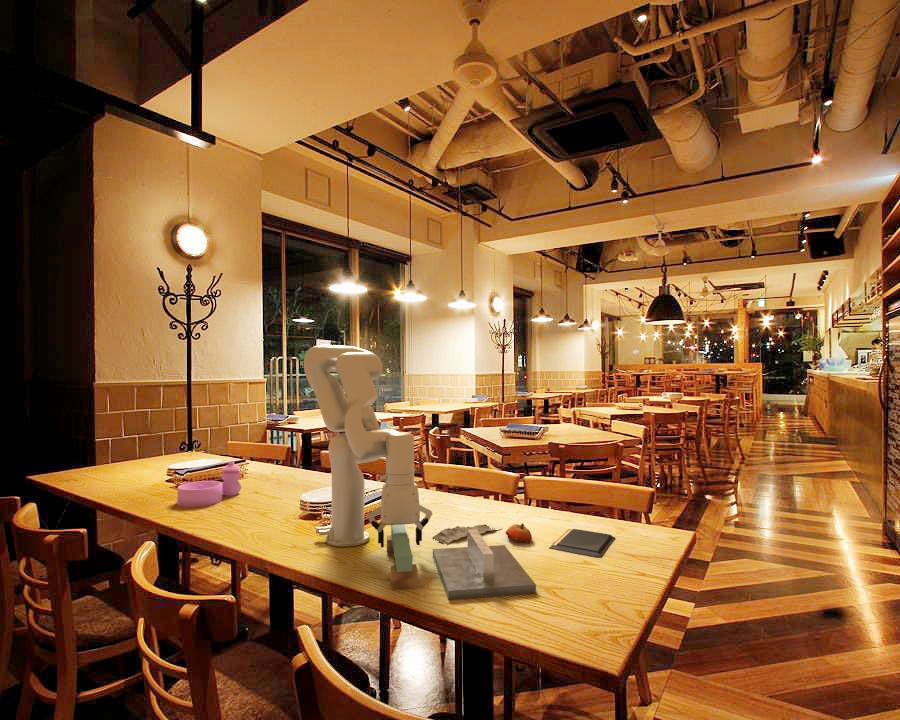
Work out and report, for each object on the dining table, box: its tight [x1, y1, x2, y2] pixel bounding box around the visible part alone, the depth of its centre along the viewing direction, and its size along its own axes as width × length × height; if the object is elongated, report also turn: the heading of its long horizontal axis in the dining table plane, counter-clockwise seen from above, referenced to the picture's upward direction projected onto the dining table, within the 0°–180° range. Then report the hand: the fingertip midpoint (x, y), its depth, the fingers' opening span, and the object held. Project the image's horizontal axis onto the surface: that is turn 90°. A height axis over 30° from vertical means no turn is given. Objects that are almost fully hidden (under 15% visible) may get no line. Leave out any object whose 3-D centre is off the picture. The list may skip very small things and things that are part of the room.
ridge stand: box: [432, 529, 537, 601], centre depth 123 cm, size 20×26×8 cm
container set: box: [176, 460, 242, 508], centre depth 195 cm, size 25×15×13 cm, turn 151°
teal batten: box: [390, 524, 413, 572], centre depth 127 cm, size 4×26×4 cm, turn 10°
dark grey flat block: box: [548, 528, 616, 559], centre depth 146 cm, size 20×2×15 cm
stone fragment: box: [432, 524, 496, 545], centre depth 154 cm, size 25×3×10 cm
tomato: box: [505, 523, 533, 544], centre depth 148 cm, size 8×7×7 cm
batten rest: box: [386, 534, 419, 591], centre depth 127 cm, size 6×26×4 cm, turn 10°
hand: (400, 544), depth 132 cm, fingers open, 9 cm apart
